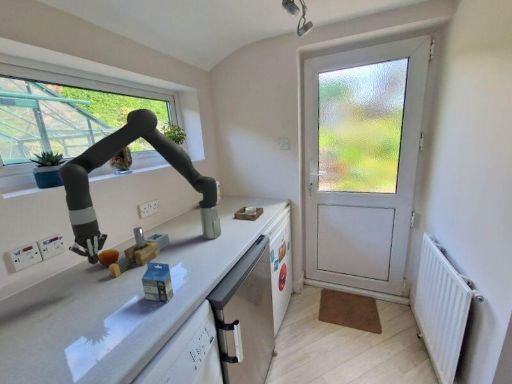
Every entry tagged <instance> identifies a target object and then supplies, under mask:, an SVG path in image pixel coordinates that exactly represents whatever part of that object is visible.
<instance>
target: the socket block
mask: <svg viewBox="0 0 512 384" xmlns="http://www.w3.org/2000/svg"><path fill="white" fill-rule="evenodd" d="M145 245H146V247H145V248H143V249H142V250H137V246H136V243H135V244H133V245H131V246H130V247H128V248H126V249H124V250H123V252H124V259H126V258H130V259H131V263H132V264H134V263H136V265H138V266H142V267H143V266H145V265H147V262H152V260H154V259H156V258H157V257H159V256H160V254H161V253H160V250H159V247H158V243H154V242H147V241H145Z"/></svg>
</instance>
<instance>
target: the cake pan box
mask: <svg viewBox="0 0 512 384" xmlns="http://www.w3.org/2000/svg"><path fill="white" fill-rule="evenodd" d="M216 184H217V197H218V198H217V205H218V204H219V203H220V202H221V189H220V188H221V187H220V181H216Z"/></svg>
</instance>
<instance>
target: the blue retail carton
mask: <svg viewBox="0 0 512 384" xmlns="http://www.w3.org/2000/svg"><path fill="white" fill-rule="evenodd" d="M146 265H147V269H146V271H145V272H144V274H143V275H142V277H141V283H142V288H143V292H144V298H145V300H146V301H154V302H160V301H161V302H162V303H167V302H168V301H169V300H170V299H172V298H173V297H174V290H173V283H172V278H171V271H170V264H169V263H159V262H152V261H149V262H147V263H146ZM170 301H171V300H170ZM170 301H169V302H170ZM169 302H168V303H169Z"/></svg>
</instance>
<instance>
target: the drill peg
mask: <svg viewBox="0 0 512 384" xmlns="http://www.w3.org/2000/svg"><path fill="white" fill-rule="evenodd" d="M132 230H133V231H132V232H133V235H134V240H135V244H136V246H137V250H142V249H143V248H145V247H146V245H145V240H144V238H145V237H144V236H145V235H144V230H143V227H142V226H136V227H134V228H133V229H132Z"/></svg>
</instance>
